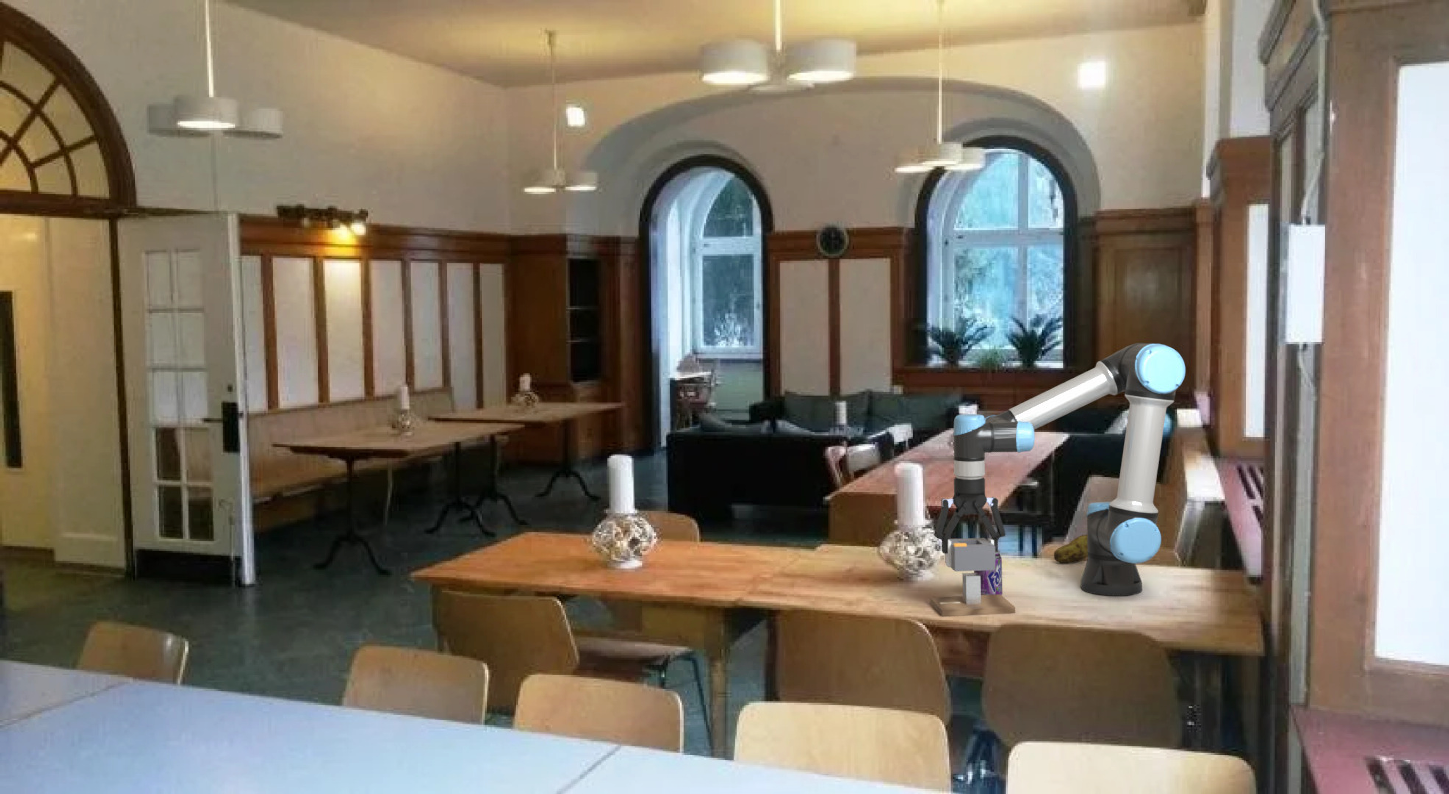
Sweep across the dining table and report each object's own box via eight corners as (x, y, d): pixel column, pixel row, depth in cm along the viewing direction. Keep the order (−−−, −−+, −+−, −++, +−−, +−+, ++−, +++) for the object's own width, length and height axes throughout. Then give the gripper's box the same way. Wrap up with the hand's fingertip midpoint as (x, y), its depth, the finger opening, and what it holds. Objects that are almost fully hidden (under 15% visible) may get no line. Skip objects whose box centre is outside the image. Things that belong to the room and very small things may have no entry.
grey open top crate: (984, 561, 302) (984, 535, 302) (995, 570, 292) (995, 543, 292) (945, 562, 302) (945, 536, 301) (954, 571, 292) (954, 544, 291)
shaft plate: (1000, 600, 305) (1000, 593, 305) (1015, 612, 292) (1015, 606, 292) (930, 603, 304) (930, 597, 304) (942, 616, 291) (942, 609, 291)
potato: (1052, 559, 350) (1051, 532, 349) (1098, 559, 347) (1097, 532, 347) (1054, 565, 342) (1054, 538, 341) (1101, 565, 339) (1101, 538, 339)
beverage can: (982, 601, 304) (981, 554, 303) (969, 595, 311) (968, 549, 310) (1007, 598, 306) (1006, 552, 305) (994, 592, 313) (993, 547, 312)
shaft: (977, 600, 300) (976, 572, 299) (980, 603, 296) (980, 575, 296) (962, 600, 300) (962, 573, 299) (966, 604, 296) (966, 576, 295)
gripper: (1009, 473, 300) (1010, 560, 301) (920, 476, 299) (921, 563, 300) (1018, 477, 292) (1019, 567, 294) (927, 480, 291) (928, 570, 293)
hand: (969, 565), depth 297 cm, fingers closed on grey open top crate, 10 cm apart
